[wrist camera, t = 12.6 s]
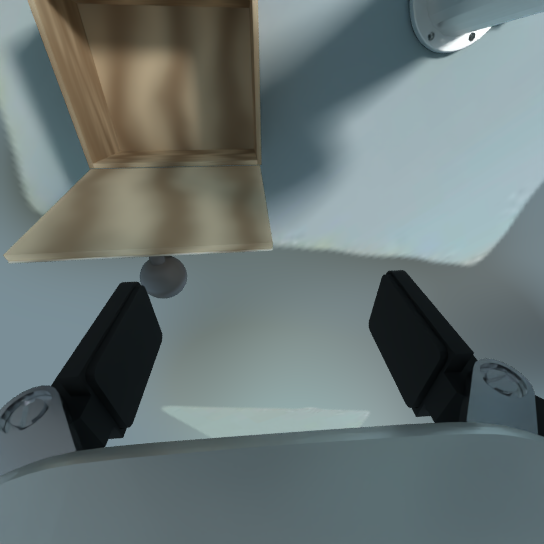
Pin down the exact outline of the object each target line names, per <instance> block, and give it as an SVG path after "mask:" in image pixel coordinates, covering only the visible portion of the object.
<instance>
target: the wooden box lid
mask: <svg viewBox="0 0 544 544" xmlns="http://www.w3.org/2000/svg"><path fill="white" fill-rule="evenodd" d="M272 250H273V242H272V236H271V229H270V223H269V217H268V211H267V205H266V199H265V193H264V187H263V181H262V175H261V169H260V165H254V166H209V167H165V168H121V169H90V170H89V171H88V172H87V173H86V174H85V175H84V176H83V177H82V178H81V179H80V180H79V181H78V182H77V183H76V184H75V185H74V186H73V187H72V188H71V189H70V190H69V191H68V192H67V193H66V194H65V195H64V196H63V197H62V198H61V199H60V200H59V201H58V202H57V203H56V204H55V205H54V206H53V207H52V208H51V209H50V210H48V211H47V212H46V213H45V214H44V215H43V216H42V217H41V218H40V219H39V220H38V221H37V222H36V223H35V224H34V225H33V226H32V227H31V228H30V229H29V230H28V231H27V232H26V233H25V234H24V235H23V236H22V237H21V238H20V239H19V240H18V241H17V242H16V243H15V244H14V245H13V246H12V247H11V248H10V249H9V250H8V251H7V252H6V253H5V254H4V255H3V256H4V257H5V258H6V259H7V260H8V261H9V262H8V263H28V262H47V261H68V260H89V259H109V258H130V257H149V260H148V261H147V262H146V263H145V264H144V265H143V267H142V269H141V272H140V282H141V285H143V286H145V288H146V291H147V293H148V294H150V295H152V296H154V297H157V298H170V297H173V296H175V295H177V294H178V293H179V292H181V291H182V289H183V288H184V286H185V284H186V281H187V272H186V269H185V267H184V265H183V264H182V263H181V262H180V261H179V260H178V259H176V258H174V257H172V256H170V255H190V254H209V253H210V254H211V253H231V252H251V251H272Z"/></svg>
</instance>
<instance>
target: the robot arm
mask: <svg viewBox="0 0 544 544" xmlns="http://www.w3.org/2000/svg"><path fill="white" fill-rule="evenodd" d="M541 12H544V0H410V17H411V23H412V27H413V29H414V32H415V35H416V36H417V38H418V39H419V41H420V42H421V43H422V44H423V45H424V46H425V47H426V48H427V49H429V50H431V51H434V52H438V53H450V52H455V51H458V50H461V49H464V48H466V47H468V46H470V45H471V44H473V43H474V42H476V41H477V40H479V39H480V38H481V37H482V36H483V35H484V34H485V33H486V32H487V31H488V30H489V29H490V28H491V27H492V26H495V25H498V24H502V23H505V22H509V21H512V20H516V19H519V18H523V17H526V16H530V15H533V14H537V13H541ZM428 36H429V38H428ZM369 329H370V332H371V333H372V336H373V338H374V340H375V342H376V344H377V346H378V348H379V350H380V352H381V354H382V356H383V358H384V360H385V363H386V365H387V367H388V369H389V371H390V373H391V375H392V377H393V379H394V381H395V383H396V385H397V387H398V389H399V391H400V393H401V395H402V397H403V399H404V401H405V403H406V405H407V406H408V407H410V408H412V410H413V412H414V414H415V415H416V417H421V416H431V417H432V419H433V421H434V422H435V423H426V424H405V425H390V426H375V427H360V428H345V429H330V430H316V431H302V432H289V433H275V434H261V435H248V436H234V437H221V438H208V439H195V440H183V441H170V442H157V443H146V444H136V445H126V446H114V447H105V446H106V443H107V441H108V439H114V438H123V437H124V434H125V431H126V428H128V427H130V426H131V425H132V424H133V421H134V418H135V415H136V413H137V410H138V407H139V404H140V401H141V399H142V396H143V393H144V390H145V387H146V384H147V381H148V379H149V376H150V373H151V370H152V368H153V365H154V361H155V359H156V356H157V353H158V351H159V348H160V345H161V342H162V332H161V329H160V327H159V324H158V321H157V318H156V316H155V313H154V310H153V307H152V304H151V302H150V299H149V296H148V293H147V291H146V288H145V286H143V285H140V283H139V282H123V283H120V284H119V286H118V287H117V289H116V290H115V292H114V293H113V295H112V296H111V298H110V299H109V300H108V302H107V303H106V305H105V307H104V308H103V309H102V311H101V312H100V314H99V316H98V317H97V318H96V320H95V321H94V323H93V324H92V326H91V327H90V329H89V330H88V332H87V333H86V335H85V336H84V338H83V339H82V340H81V342H80V344H79V345H78V346H77V348H76V349H75V351H74V352H73V354H72V355H71V357H70V358H69V360H68V361H67V363H66V364H65V366H64V367H63V369H62V370H61V372H60V373H59V375H58V376H57V378H56V379H55V381H54V382H53V384H52V385H51V386H38V387H33V388H31V389H28V390H26V391H24V392H22V393H20V394H19V395H17V396H16V397H14V398H13V399H11V400H10V401H9V402H8V403H6V405H4V406H3V407H2V408H1V410H0V544H544V399H542V398H539V397H538V396H536V395H535V393H534V389H533V386H532V385H531V383H530V382H529V381H528V379H527V378H526V377H525V376H524V375H523V374H522V373H520V372H519V371H517V370H516V369H515V368H513V367H512V366H509V365H507V364H506V363H504V362H501V361H498V360H495V359H487V358H486V359H480V360H477V359H476V358H475V357H474V355H473V354H474V352H473V351H472V350H471V349H470V348H469V346H468V345H467V344H466V343H465V342H464V341H463V340H462V338H461V337H460V336H459V335H458V333H457V332H456V331H455V330H454V329H453V327H452V326H451V325H450V324H449V323H448V321H447V320H446V319H445V318H444V317H443V316H442V314H441V313H440V312H439V311H438V310H437V308H436V307H435V306H434V305H433V304H432V302H431V301H430V300H429V299H428V298H427V296H426V295H425V294H424V293H423V292H422V291H421V290H420V288H419V287H418V286H417V285H416V283H414V281H413V280H412V279H411V277H410V276H409V275H408V274H407V273H406V272H405V271H403V270H398V271H388V272H387V273H386V275H383V276H382V279H381V282H380V286H379V289H378V292H377V296H376V299H375V303H374V306H373V309H372V313H371V316H370V320H369Z"/></svg>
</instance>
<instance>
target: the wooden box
mask: <svg viewBox="0 0 544 544" xmlns="http://www.w3.org/2000/svg"><path fill="white" fill-rule="evenodd" d="M28 3H29V5H30V8H31V11H32V13H33V16H34V19H35V22H36V24H37V27H38V30H39V32H40V35H41V38H42V40H43V43H44V46H45V49H46V51H47V54H48V57H49V59H50V62H51V65H52V68H53V70H54V73H55V76H56V78H57V81H58V84H59V86H60V89H61V92H62V95H63V97H64V100H65V103H66V105H67V108H68V111H69V113H70V116H71V119H72V122H73V124H74V127H75V130H76V132H77V135H78V138H79V140H80V143H81V146H82V149H83V151H84V154H85V157H86V159H87V162H88V165H89V168H134V167H179V166H223V165H261V122H260V77H259V32H258V0H28Z"/></svg>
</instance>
